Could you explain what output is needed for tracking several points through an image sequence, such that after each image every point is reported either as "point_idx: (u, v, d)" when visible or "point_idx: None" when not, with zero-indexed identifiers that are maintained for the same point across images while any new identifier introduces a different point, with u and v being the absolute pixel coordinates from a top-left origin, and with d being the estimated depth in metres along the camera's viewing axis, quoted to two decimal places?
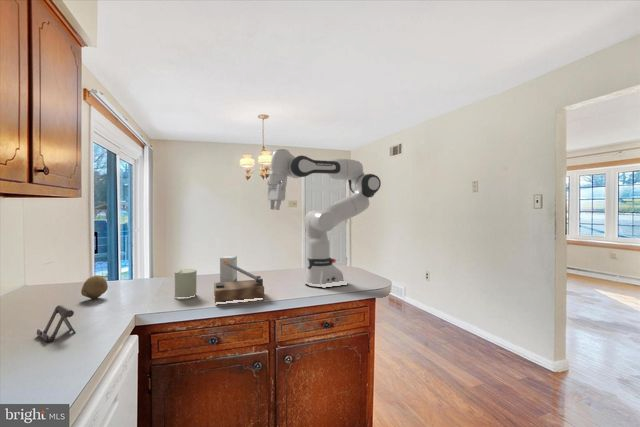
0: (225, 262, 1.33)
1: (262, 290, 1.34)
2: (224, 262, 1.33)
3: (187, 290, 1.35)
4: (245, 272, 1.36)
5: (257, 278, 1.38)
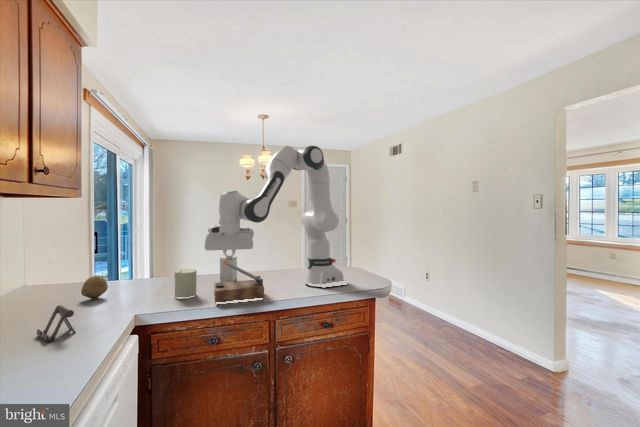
0: (225, 262, 1.33)
1: (262, 290, 1.34)
2: (224, 262, 1.33)
3: (187, 290, 1.35)
4: (245, 272, 1.36)
5: (257, 278, 1.38)
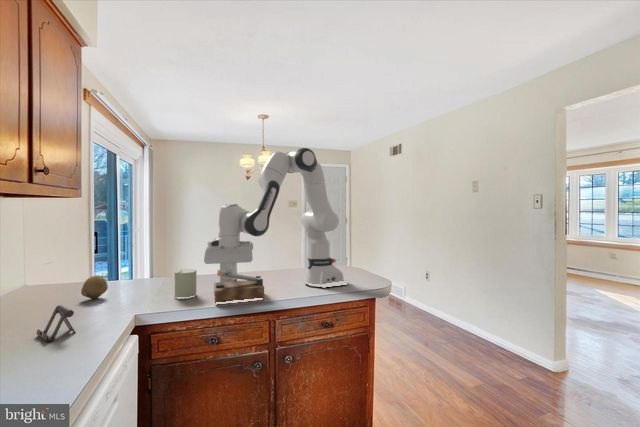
0: (220, 273, 1.32)
1: (262, 290, 1.34)
2: (219, 274, 1.32)
3: (187, 290, 1.35)
4: (242, 277, 1.36)
5: (256, 279, 1.38)
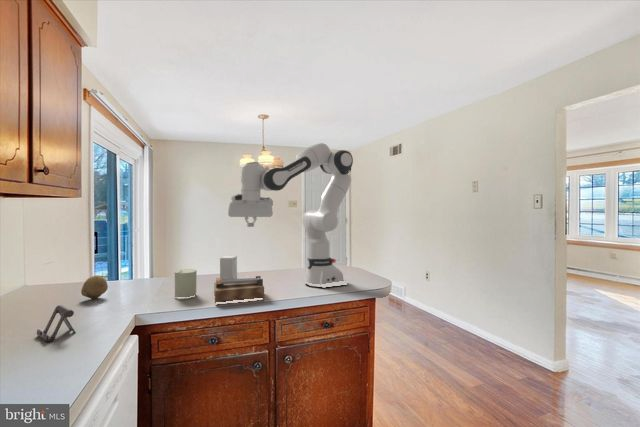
0: (218, 282, 1.32)
1: (262, 290, 1.34)
2: (217, 282, 1.32)
3: (187, 290, 1.35)
4: (241, 280, 1.35)
5: (255, 280, 1.38)
